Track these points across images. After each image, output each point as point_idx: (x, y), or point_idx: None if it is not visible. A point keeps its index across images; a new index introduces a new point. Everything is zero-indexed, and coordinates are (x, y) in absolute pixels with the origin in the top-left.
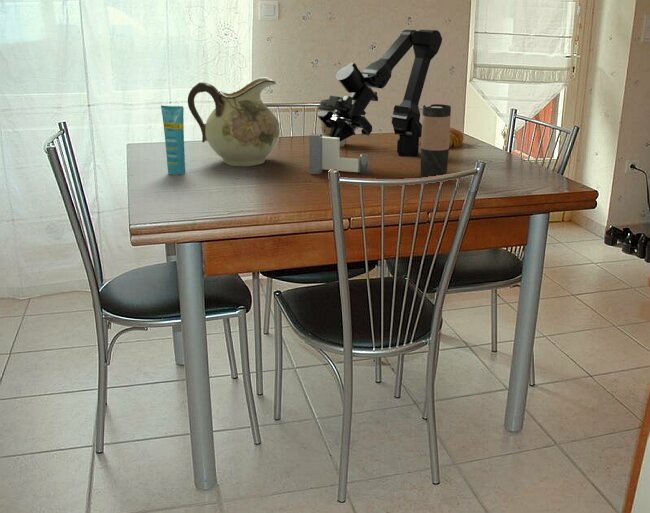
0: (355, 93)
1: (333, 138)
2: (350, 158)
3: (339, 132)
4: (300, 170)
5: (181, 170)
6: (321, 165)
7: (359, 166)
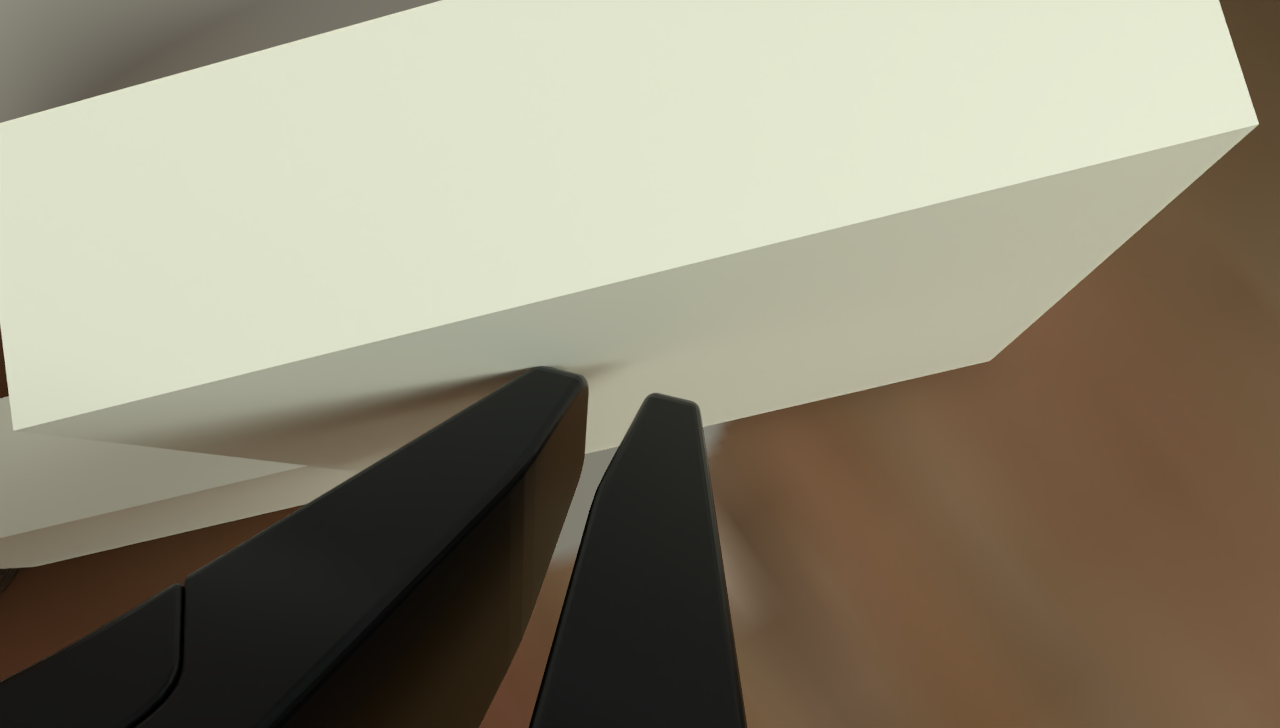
0: None
1: (138, 102)
2: (40, 472)
3: (13, 705)
4: None
5: None
6: None
7: None
